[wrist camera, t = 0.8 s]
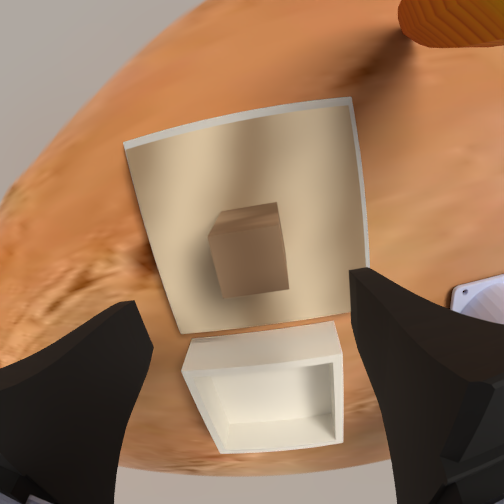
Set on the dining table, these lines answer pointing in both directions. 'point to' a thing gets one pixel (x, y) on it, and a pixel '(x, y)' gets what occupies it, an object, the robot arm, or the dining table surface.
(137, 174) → the oak lid
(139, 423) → the dining table surface
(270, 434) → the cream dish
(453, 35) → the carrot
